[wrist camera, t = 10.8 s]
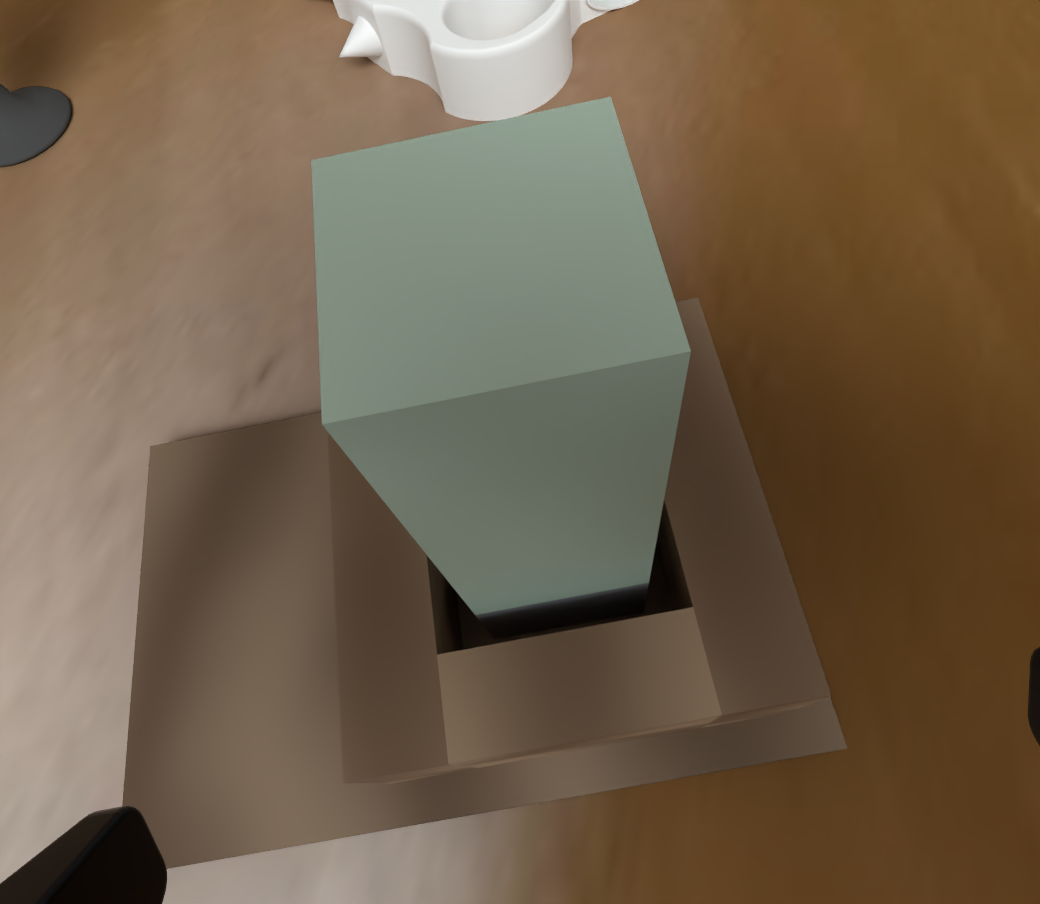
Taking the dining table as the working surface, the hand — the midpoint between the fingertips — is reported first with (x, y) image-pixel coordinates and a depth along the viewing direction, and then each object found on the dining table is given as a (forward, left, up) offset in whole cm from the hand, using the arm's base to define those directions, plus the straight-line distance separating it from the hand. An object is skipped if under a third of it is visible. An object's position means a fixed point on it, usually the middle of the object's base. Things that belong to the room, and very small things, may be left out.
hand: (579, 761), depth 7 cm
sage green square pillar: (+4, -4, -11) cm, 13 cm away
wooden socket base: (+6, -2, -12) cm, 14 cm away
